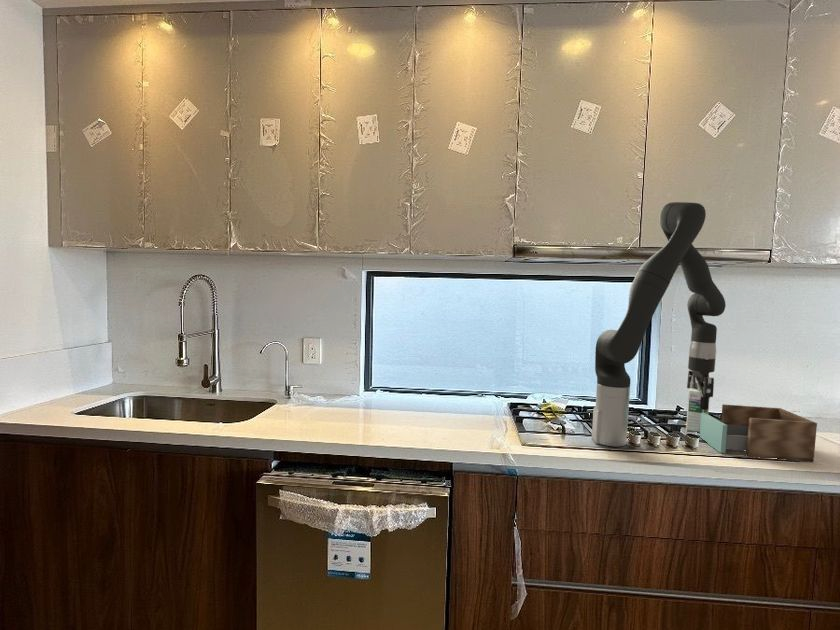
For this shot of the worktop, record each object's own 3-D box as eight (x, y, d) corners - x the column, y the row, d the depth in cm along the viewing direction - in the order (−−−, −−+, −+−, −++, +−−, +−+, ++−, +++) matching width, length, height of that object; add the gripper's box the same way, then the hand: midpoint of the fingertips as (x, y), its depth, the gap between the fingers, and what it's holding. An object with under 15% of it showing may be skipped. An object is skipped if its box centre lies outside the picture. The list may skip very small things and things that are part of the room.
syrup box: (685, 434, 171) (688, 389, 170) (687, 430, 176) (690, 387, 175) (705, 438, 168) (708, 392, 167) (707, 434, 173) (710, 389, 172)
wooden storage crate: (748, 457, 149) (751, 418, 149) (719, 439, 167) (722, 404, 167) (813, 462, 148) (817, 423, 147) (777, 443, 165) (780, 408, 165)
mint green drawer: (720, 452, 152) (722, 425, 151) (699, 437, 166) (701, 412, 166) (772, 456, 150) (774, 428, 150) (746, 441, 165) (748, 415, 164)
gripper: (681, 352, 178) (677, 400, 179) (698, 358, 164) (694, 410, 165) (705, 353, 177) (701, 402, 178) (724, 359, 163) (720, 412, 164)
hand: (698, 406), depth 171 cm, fingers open, 8 cm apart
